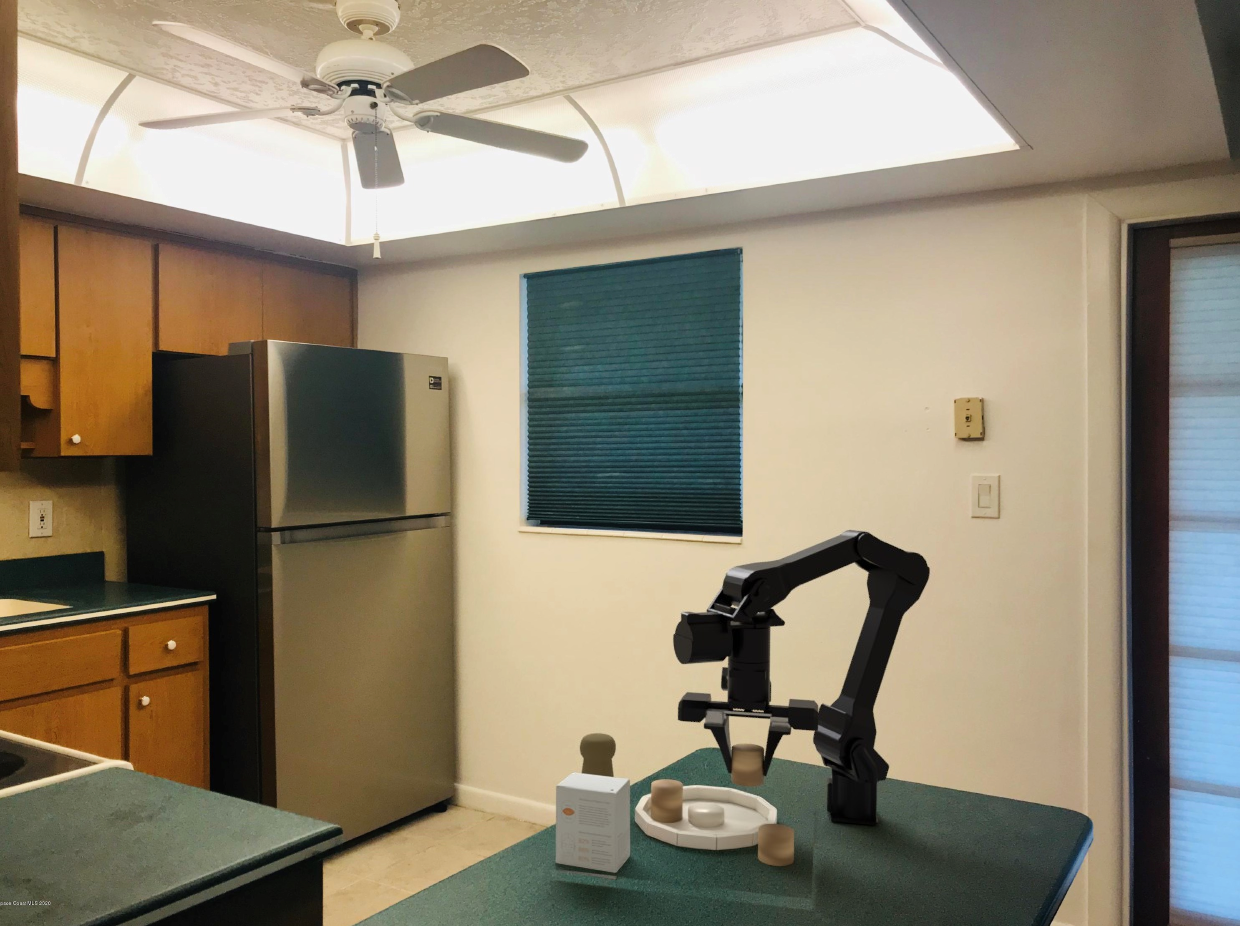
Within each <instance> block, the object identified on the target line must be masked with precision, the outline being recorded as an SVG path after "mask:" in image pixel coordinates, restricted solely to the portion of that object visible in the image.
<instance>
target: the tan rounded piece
mask: <svg viewBox="0 0 1240 926" xmlns="http://www.w3.org/2000/svg"><path fill="white" fill-rule="evenodd" d="M731 752H732V768H731V773H730V775H731V776H730V778H731V779H730V781H731V783H733V784H734V785H737V786H740V787H747V788H753V787H760V786H763V785H764V783H765V776H763V765H764V758H765V748H764V747H763V746H762V745H759V744H755V743H737V744H733V745H731Z"/></svg>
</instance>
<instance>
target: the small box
mask: <svg viewBox="0 0 1240 926" xmlns="http://www.w3.org/2000/svg"><path fill="white" fill-rule="evenodd" d="M630 856H631V780H630V779H629V778H623V777H615V776H614V777H608V776H599V775H591V774H582V772H572V773H569V775H567V777H565V778H564V779H563V780H562V781H561V782H559V783H558V784H556V786H555V863H556V864H560V865H565V866H571V867H580V868H584V869H590V870H597V871H603V872H609V873H618V871H619V870H620V869H621V868H622V867H623V866H624V864H625V863H626V862H627V860H628V859H629V858H630ZM555 871H557V872H565V873H569V874H576V875H583V876H588V877H589V876H590V877H595V878H599V879H600V878H601V879H608V880H614V881H615V880H617V878H618V877H619V876H617V875H610V874H600V873H591V872H584V871H583V872H582V871H575V870H567V869H566V870H565V869H557V868H556V869H555Z"/></svg>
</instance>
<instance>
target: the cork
mask: <svg viewBox="0 0 1240 926" xmlns="http://www.w3.org/2000/svg"><path fill="white" fill-rule="evenodd" d="M616 746H617V743H616V741H615V739H614V737H613V736H612V735H609V734H607V733H601V732H599V733H597V732H596V733H595V732H594V733H588V734H586V735H584V736H583V737H582V739H581V741H580V744H579V752H580V755H581V756H582V758H583V760H582V766H581V773H582V774H591V775H599V776H608V777H615V776H614V767H613V758H614V757H615V754H616V751H617V749H616V748H617V747H616Z"/></svg>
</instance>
